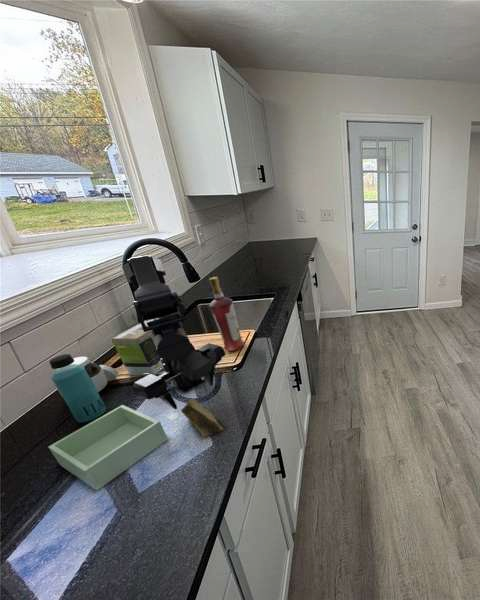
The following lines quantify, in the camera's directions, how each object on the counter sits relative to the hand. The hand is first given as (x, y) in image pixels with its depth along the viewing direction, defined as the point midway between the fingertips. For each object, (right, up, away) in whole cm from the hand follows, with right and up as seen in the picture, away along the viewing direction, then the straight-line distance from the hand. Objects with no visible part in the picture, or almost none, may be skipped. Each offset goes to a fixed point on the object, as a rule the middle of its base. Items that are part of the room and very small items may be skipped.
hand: (194, 396), depth 78 cm
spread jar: (-45, -5, +21) cm, 50 cm away
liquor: (-11, +6, +40) cm, 42 cm away
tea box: (-34, +1, +34) cm, 48 cm away
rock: (+1, -9, +4) cm, 10 cm away
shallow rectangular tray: (-17, -12, -3) cm, 21 cm away
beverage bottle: (-33, -9, +9) cm, 36 cm away
